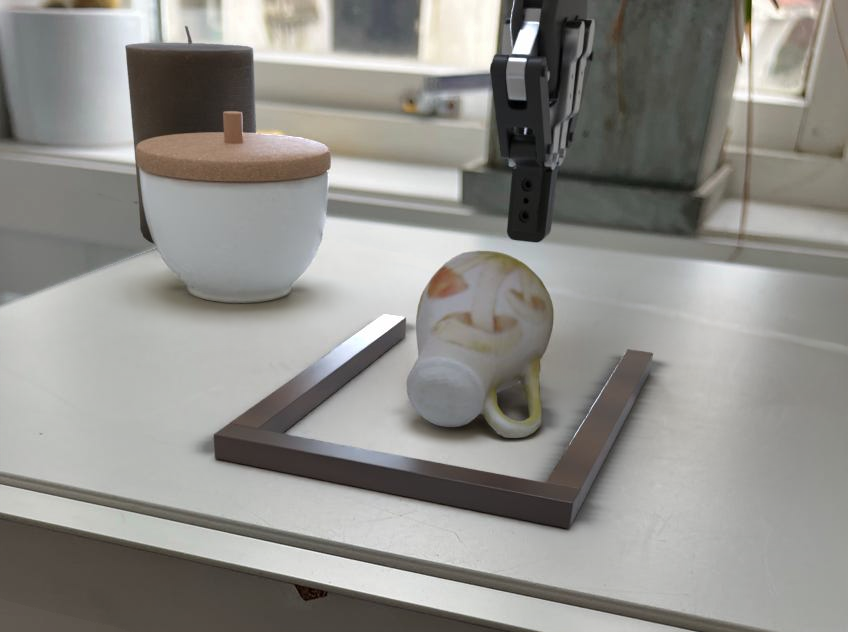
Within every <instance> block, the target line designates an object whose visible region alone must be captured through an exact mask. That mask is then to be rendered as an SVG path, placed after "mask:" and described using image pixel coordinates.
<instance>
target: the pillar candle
mask: <svg viewBox="0 0 848 632" xmlns="http://www.w3.org/2000/svg"><path fill="white" fill-rule="evenodd" d="M184 28H185V33H186V36H187V42H139V43H138V42H137V43H130V44H126V45H125V46H124V47H125V48H124V49H125V57H126V59H125V60H126V70H127V78H128V79H127V80H128V81H127V83H128V93H129V104H130V115H131V117H130V118H131V128H132V136H133V148H134V149H133V150H134V152H135V148H136V146H137V144H138V143H140V142H141V141H144V140H147V139H150V138H154V137H159V136H166V135H173V134H186V133H206V132H224V122H223V112H226V111H237V112H242V126H243V133H257V120H256V119H257V118H256V116H257V115H256V90H255V85H256V84H255V63H254V48H253V47H252V46H248V45H240V44H239V45H238V44H236V45H235V44H222V43H205V42H204V43H203V42H201V43H199V42H195V43H194V42H193V40H192V36H191V34H190V30H189V27H188V26H187V25H184ZM134 160H135V173H136V174H135V175H136V186H137V195H138V210H139V211H138V212H139V227H140V228H139V230H140V232H141V235H142V237H143V238H144V239H145V240H146V241H148V243H150V244H152V245H155V244H154V242H153V239H152V237H151V234H150V230H149V227H148V224H147V220H146V216H145V211H144V206H143V201H142V193H141V184H140V172H139V167H138V166H137V163H136V154H135V153H134Z"/></svg>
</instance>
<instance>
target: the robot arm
mask: <svg viewBox="0 0 848 632" xmlns="http://www.w3.org/2000/svg"><path fill="white" fill-rule="evenodd" d="M588 5H589V0H513V4H512V9H511V14H510V17H506V19H505V20H504V22H503V28H502V39H501V53H495V54H494V55H493V57H492V60H491V63H490V67H489V73H490V79H491V89H492V97H493V105H494V112H495V121H496V128H497V136H498V145H499V152H500V158H501V159H505V160H506V159H507V160H508V161H507V162H508V166H509V167H511V168H512V170H511V181H510V192H509V201H508V202H509V205H508V216H507V225H506V226H507V227H506V234H507V237H508V238H509V239H510V240H512V241H517V242H518V241H519V242H527V243H528V242H529V243H540V242H542V241H543V240H544V239H546V237H548V236H549V235H550V233H551V231H552V224H553V217H554V216H553V215H554V206H555V197H556V190H557V189H556V188H557V179H558V171H559V167H557V166H562V164H563V162H564V160H565V158H566V156H567V155H566V154H567V149H570V148H571V146H572V143H573V142H574V139H575V131H576V127H577V124H578V118H579V115H580V111H581V107H582V104H583V103H582V102H583V99H584V95H585V92H586V87H587V84H588V80H589V75H590V71H591V67H592V62H594V60H595V55H596V54H595V53H596V52H595V50H594V39H595V29H596V28H595V27H596V21H595V18H588Z"/></svg>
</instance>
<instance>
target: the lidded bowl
mask: <svg viewBox="0 0 848 632" xmlns="http://www.w3.org/2000/svg"><path fill="white" fill-rule="evenodd" d="M223 122H224V132H206V133H186V134H173V135H166V136H159V137H154V138H150V139H147V140H144V141H141V142H140V143H138V144H137V146H136V148H135V151H134V155H135V154H136V162H135V164H136V163H137V166H138V167H139V172H140V184H141V193H142V201H143V206H144V211H145V216H146V220H147V224H148V227H149V230H150V234H151V237H152V239H153V242H154V244H153V245H154V246H155V248H156V250H157V253H158V254H159V256H160V257H161V259H162V261H163V262H164V264H165V265H166V266H167V267H168V269H170V270H171V272H172V273H173V274H174V275H175V276H176V277H177V278H178V279H179V280H181V281H182V282H183V283H184V284H185V285H186V287H187V292H188V293H189V294H191V296H194V297H196V298H199V299H203V300H207V301H212V302H219V303H230V304H231V303H233V304H240V303H241V304H247V303H261V302H266V301H267V302H268V301H274V300H276V299H280V298H283V297H285V296H287V295H289V294H291V291H292V286H293V284H294V283H295V282H296V281H297V280H299V279H300V277H301V276H302V275H304V274H305V272H306V271H307V270H308V268H309V267H310V266H311V264H312V263H313V261H314V259H315V257H316V256H317V253H318V250H319V247H320V245H321V243H322V240H323V236H324V231H325V228H326V227H325V226H326V222H327V214H328V205H329V190H330V189H329V188H330V187H329V183H330V181H329V178H330V177H329V174H330V173H329V170H330V169H331V165H332V150H331V149H330V147H329V146H328V145H327V144H324V143H322V142H320V141H317V140H314V139H310V138H304V137H301V136H293V135H283V134H274V133H261V132H260V133H259V132H256V133H243V126H242V112H237V111H226V112H223Z"/></svg>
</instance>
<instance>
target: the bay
mask: <svg viewBox="0 0 848 632" xmlns="http://www.w3.org/2000/svg"><path fill="white" fill-rule="evenodd" d="M406 330H407V316H401V315H392V314H386V313H384V314H382V315H381V316H379V317H378V318H376V319H375V320H374V321H372V322H371V323H369V324H368V325H366V326H365V327H363V328H361V330H359V331H357V332H356V333H355V334H354V335H351V337H349V338H348V339H346V340H345V341H343V342H342V343H341V344H339V345H338V346H337V347H334V349H333V350H331V351H330V352H327V354H325V355H324V356H322V357H321V358H319V359H318V360H317V361H315V362H314V363H312V364H311V365H309V366H308V367H307V368H305V369H304V370H303V371H301V372H300V373H298V374H297V375H296V376H294V377H292V378H291V379H289V380H288V381H287V382H286V383H284V384H283V385H281V386H279V387H278V388H277V389H276V390H274V391H273V392H271V393H270V394H268V395H267V396H265V397H264V398H263V399H261V400H260V401H259V402H257V403H256V404H255V405H253V406H251V407H250V408H249V409H247V410H246V411H245V412H243V413H242V414H240V415H238V417H236V418H234V419H233V420H231V421H229V423H228V424H226V425H225V426H223V427H222V428H221V429H219V430H218V431H216V432H215V433H214V434H213V448H214V449H213V450H214V458H215V459H216V460H221V461H225V462H226V461H227V462H231V463H235V464H236V463H237V464H241V465H246V466H252V467H256V468H261V469H265V470H266V469H267V470H272V471H277V472H281V473H286V474H291V475H296V476H301V477H307V478H312V479H317V480H322V481H326V482H330V483H331V482H332V483H336V484H341V485H346V486H351V487H357V488H361V489H366V490H371V491H377V492H382V493H387V494H392V495H395V496H396V495H397V496H402V497H407V498H412V499H416V500H423V501H426V502H432V503H437V504H442V505H447V506H451V507H458V508H461V509H467V510H471V511H472V510H473V511H476V512H483V513H487V514H492V515H498V516H502V517H508V518H512V519H517V520H523V521H527V522H532V523H538V524H543V525H547V526H552V527H557V528H561V529H566V530H567V529H568V530H569V529H570V528H571V526H572V525H573V522H574V521H575V519H576V517H577V514H578V513H579V511H580V509H581V507H582V505H583V503H584V502H585V499H586V497H587V496H588V493H589V491H590V489H591V487H592V485H593V483H594V481H595V480H596V477H597V476H598V475H599V472H600V470H601V468H602V466H603V464H604V463H605V460H606V458H607V457H608V455H609V453H610V450H611V449H612V447H613V445H614V443H615V441H616V439H617V437H618V435H619V433H620V431H621V429H622V427H623V425H624V424H625V421H626V419H627V417H628V415H629V414H630V412H631V409H632V408H633V406H634V404H635V402H636V400H637V398H638V395H639V394H640V392H641V390H642V388H643V386H644V385H645V382H646V380H647V378H648V376H649V375H650V373H651V367H652V363H653V356H654V353H653V352H651V351H644V350H638V349H631V348H628V349H626V350H625V352H624V354H623V356H622V357H621V358H620V360H619V362H618V364H617V365H616V367H615V369H614V370H613V372H612V374H611V375H610V376H609V379H608V380H607V381H606V383H605V385H604V386H603V388H602V390H601V392H600V393H599V395H598V397H597V398H596V400H595V401H594V403H593V405H592V406H591V408H590V410H589V411H588V413H587V414H586V416H585V418H583V421H582V422H581V424H580V426H579V427H578V430H577V431H576V432H575V434H574V435H573V438H572V439H571V441H570V442H569V444H568V445H567V448H566V449H565V451H564V452H563V454H562V456H561V457H560V459H559V460H558V462H557V463H556V465H555V467H554V469H553V470H552V471H551V474H550V475H549V477H548V478H547V480H546V482H545V481H538V480H533V479H529V478H522V477H517V476H513V475H512V476H511V475H507V474H501V473H495V472H490V471H484V470H479V469H474V468H469V467H464V466H459V465H454V464H448V463H443V462H437V461H432V460H427V459H420V458H416V457H411V456H405V455H400V454H394V453H388V452H383V451H378V450H372V449H368V448H367V449H366V448H361V447H357V446H351V445H346V444H341V443H335V442H331V441H324V440H319V439H314V438H308V437H304V436H298V435H292V434H288V433H285V432H286V431H288V430H289V429H290V428H291V427H293V426H294V425H295V424H297V423H298V422H299V421H300V420H301V419H303V418H304V417H305V416H306V415H308V414H309V413H310V412H311V411H312V410H313V411H314V409H315V408H316V407H318V406H319V405H320V404H321V403H323V402H324V401H326V400H327V399H328V398H329V397H330V396H332V395H333V394H334V393H336V392H337V391H338V390H339V389H341V388H342V387H343V386H344V385H346V384H347V383H348V382H349V381H351V380H352V379H353V378H354V377H356V376H357V375H358V374H359V373H361V372H362V371H364V370H365V369H366V368H367V367H369V366H370V365H371V364H372V363H374V362H375V361H376V360H377V359H379V358H380V357H381V356H382V355H384V353H386V352H387V351H389V350H390V349H392V348H393V347H394V346H395V345H396V344H398V343H399V342H400V341H401V340H402V339H404V338H405V337H406V332H407V331H406Z"/></svg>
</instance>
